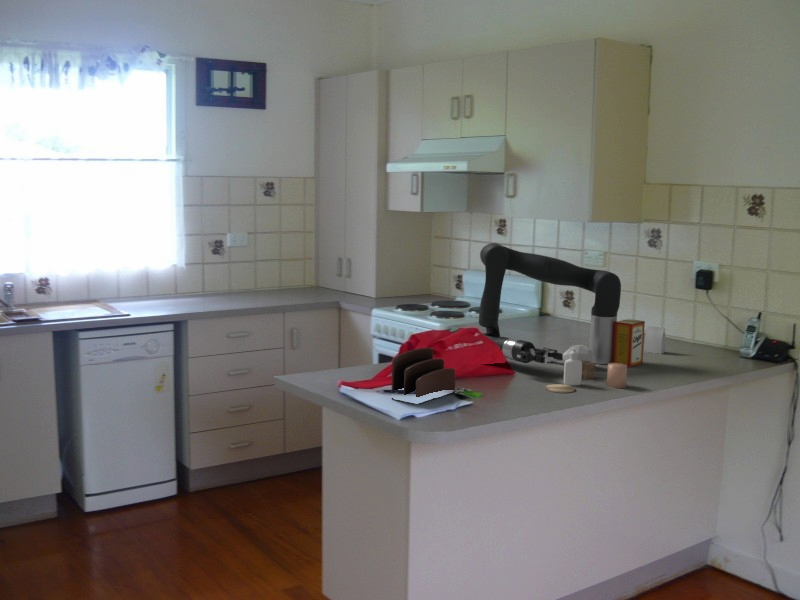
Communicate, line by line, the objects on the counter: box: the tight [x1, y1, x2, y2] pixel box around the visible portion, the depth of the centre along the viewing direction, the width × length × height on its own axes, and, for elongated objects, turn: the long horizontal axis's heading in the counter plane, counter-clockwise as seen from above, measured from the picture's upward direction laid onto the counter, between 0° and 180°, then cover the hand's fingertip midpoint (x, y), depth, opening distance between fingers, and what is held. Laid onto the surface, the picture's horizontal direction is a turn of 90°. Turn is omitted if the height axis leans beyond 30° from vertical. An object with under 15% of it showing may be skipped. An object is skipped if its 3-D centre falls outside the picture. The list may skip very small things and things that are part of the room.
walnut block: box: [581, 360, 596, 380], centre depth 295 cm, size 5×5×5 cm
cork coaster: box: [545, 383, 575, 394], centre depth 278 cm, size 9×9×1 cm
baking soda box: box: [613, 318, 645, 368], centre depth 316 cm, size 10×6×16 cm
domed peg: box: [606, 363, 628, 389], centre depth 283 cm, size 6×6×7 cm
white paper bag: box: [643, 325, 666, 355], centre depth 338 cm, size 4×7×10 cm, turn 52°
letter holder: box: [391, 347, 456, 397], centre depth 266 cm, size 10×20×14 cm, turn 141°
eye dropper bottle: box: [563, 348, 583, 387], centre depth 284 cm, size 4×6×12 cm
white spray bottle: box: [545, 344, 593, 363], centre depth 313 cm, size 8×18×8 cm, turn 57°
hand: (553, 358), depth 290 cm, fingers open, 8 cm apart
